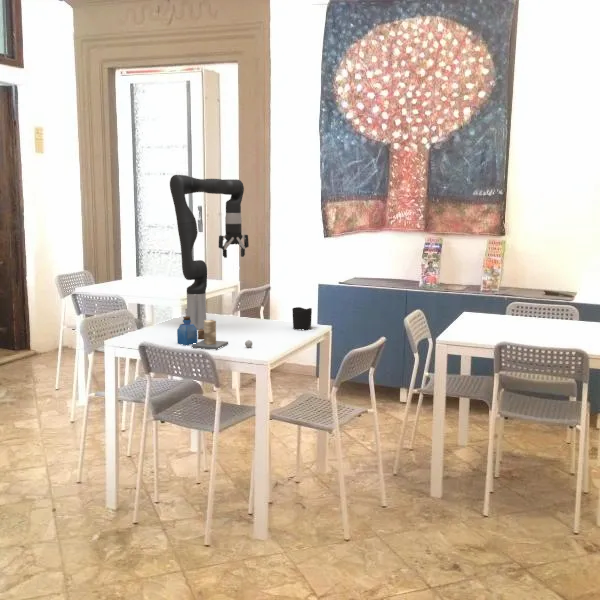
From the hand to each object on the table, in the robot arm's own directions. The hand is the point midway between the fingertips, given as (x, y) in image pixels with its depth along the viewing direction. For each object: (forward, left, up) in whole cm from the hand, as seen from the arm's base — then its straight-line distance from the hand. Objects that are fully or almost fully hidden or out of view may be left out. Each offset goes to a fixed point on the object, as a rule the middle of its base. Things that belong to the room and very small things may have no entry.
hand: (233, 257), depth 346 cm
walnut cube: (-8, -18, -36) cm, 41 cm away
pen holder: (+28, +18, -36) cm, 49 cm away
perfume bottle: (-10, -30, -36) cm, 48 cm away
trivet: (+2, -32, -36) cm, 48 cm away
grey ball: (+19, -29, -34) cm, 49 cm away
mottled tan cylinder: (+2, -32, -35) cm, 47 cm away
